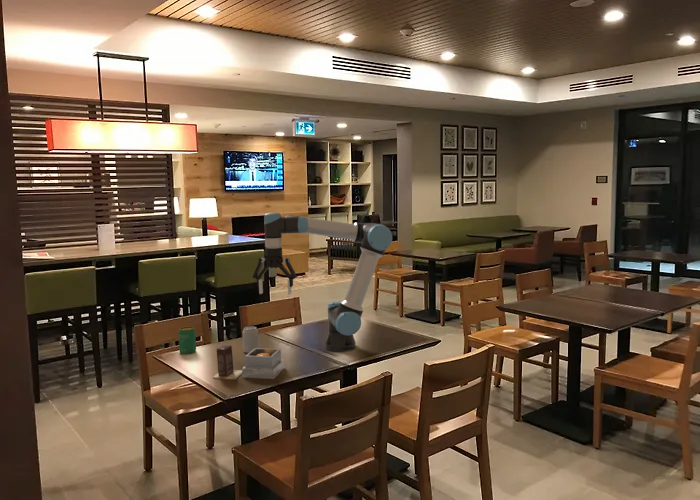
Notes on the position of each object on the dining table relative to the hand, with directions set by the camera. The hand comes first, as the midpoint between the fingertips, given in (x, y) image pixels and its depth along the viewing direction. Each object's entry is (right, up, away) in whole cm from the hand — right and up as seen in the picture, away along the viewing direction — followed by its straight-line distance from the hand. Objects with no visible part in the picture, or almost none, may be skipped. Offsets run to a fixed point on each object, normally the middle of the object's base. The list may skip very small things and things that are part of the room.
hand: (275, 293), depth 256 cm
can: (-14, -30, +20) cm, 39 cm away
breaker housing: (-3, -33, -12) cm, 36 cm away
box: (-19, -34, -15) cm, 41 cm away
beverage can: (-46, -31, +21) cm, 59 cm away
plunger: (-4, -29, -12) cm, 32 cm away
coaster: (-18, -34, -14) cm, 41 cm away
